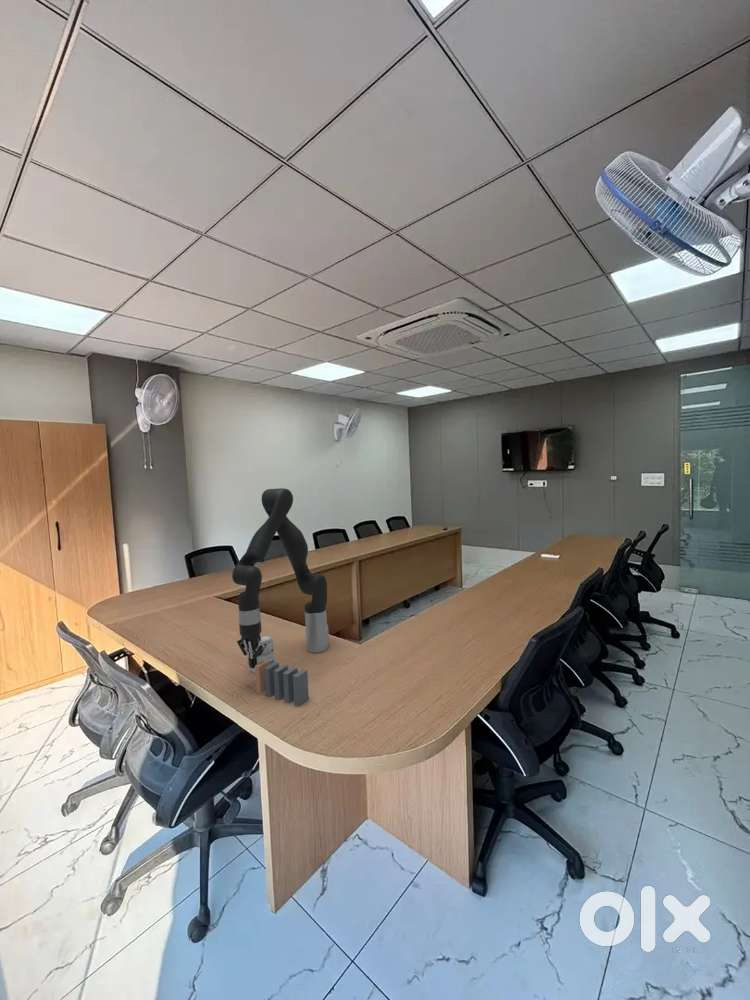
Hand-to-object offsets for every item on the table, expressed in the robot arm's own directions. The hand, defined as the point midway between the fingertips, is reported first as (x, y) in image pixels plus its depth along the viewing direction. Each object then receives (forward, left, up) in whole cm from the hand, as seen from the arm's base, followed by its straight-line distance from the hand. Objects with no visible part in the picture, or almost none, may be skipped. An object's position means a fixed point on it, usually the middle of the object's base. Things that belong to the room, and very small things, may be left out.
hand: (253, 667), depth 148 cm
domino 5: (0, +22, -8) cm, 23 cm away
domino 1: (0, +5, -8) cm, 9 cm away
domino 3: (0, +14, -8) cm, 15 cm away
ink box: (-12, -8, -8) cm, 16 cm away
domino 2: (0, +9, -8) cm, 12 cm away
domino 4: (0, +18, -8) cm, 19 cm away
